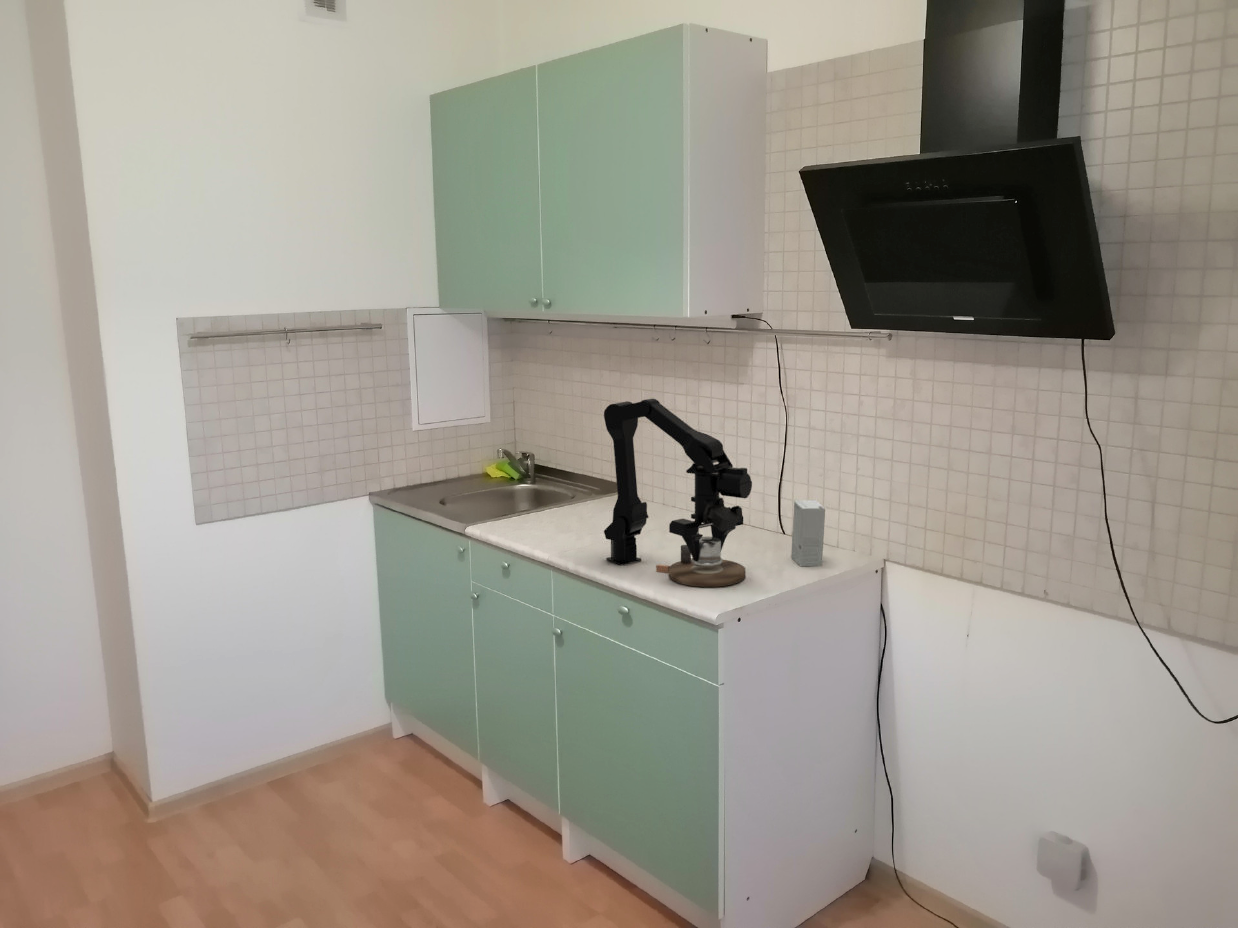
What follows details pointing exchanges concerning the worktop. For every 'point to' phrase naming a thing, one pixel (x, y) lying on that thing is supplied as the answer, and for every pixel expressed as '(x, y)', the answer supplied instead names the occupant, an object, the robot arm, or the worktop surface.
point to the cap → (709, 552)
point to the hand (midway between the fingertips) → (706, 558)
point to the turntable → (705, 572)
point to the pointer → (662, 568)
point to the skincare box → (808, 533)
